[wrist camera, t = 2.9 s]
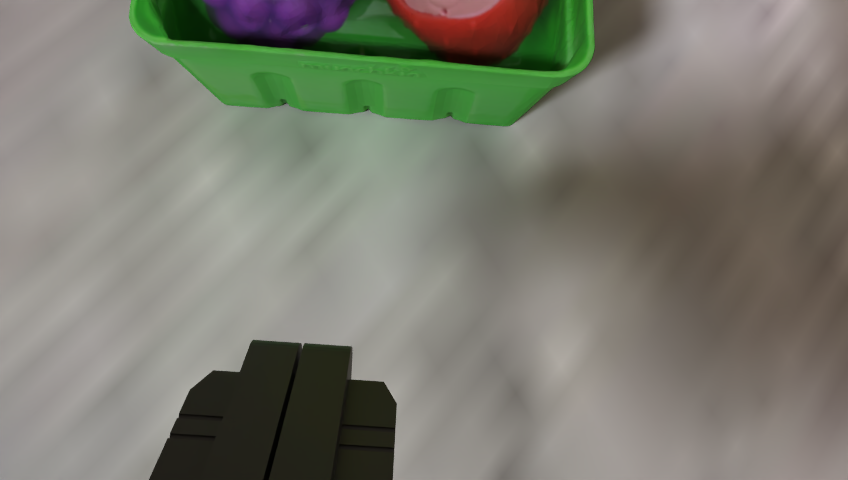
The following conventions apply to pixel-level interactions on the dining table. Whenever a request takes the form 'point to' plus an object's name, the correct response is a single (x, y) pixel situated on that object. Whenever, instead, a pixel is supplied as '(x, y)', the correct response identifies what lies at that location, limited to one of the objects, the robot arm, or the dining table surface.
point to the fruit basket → (376, 53)
